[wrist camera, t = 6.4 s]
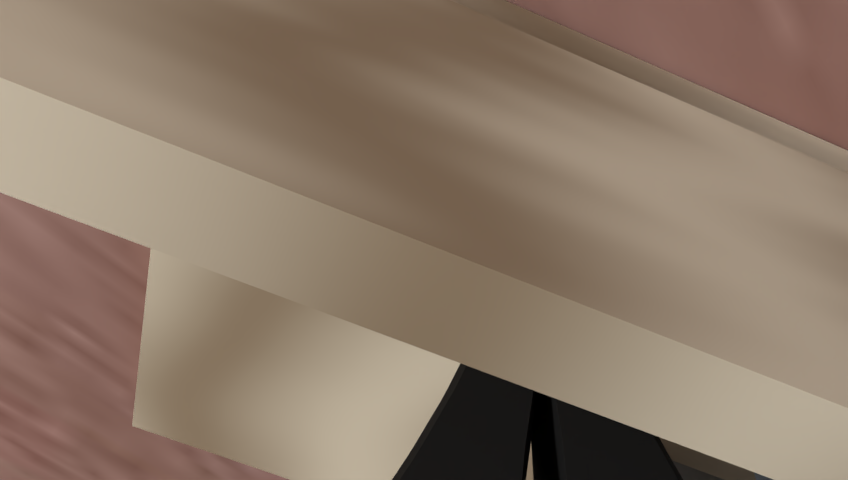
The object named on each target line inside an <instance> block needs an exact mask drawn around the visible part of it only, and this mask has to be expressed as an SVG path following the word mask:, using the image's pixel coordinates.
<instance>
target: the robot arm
mask: <svg viewBox="0 0 848 480" xmlns="http://www.w3.org/2000/svg"><path fill="white" fill-rule="evenodd" d="M530 446H531V447H532V465H533V480H683V478H682V477H681V475H680V473H679V471H678V470H677V468H676V466H675V465H674V463H673V461H672V459H671V458H670V456H669V454H668V452H667V451H666V449H665V447H664V445H663V443H662V442H661V440H660V438H659V437H658V436H655V435H652V434H650V433H647V432H644V431H642V430H639V429H636V428H633V427H631V426H628V425H625V424H623V423H620V422H617V421H615V420H612V419H609V418H606V417H604V416H601V415H598V414H596V413H593V412H590V411H588V410H585V409H582V408H580V407H577V406H574V405H571V404H569V403H566V402H563V401H561V400H558V399H555V398H553V397H550V396H547V395H545V394H542V393H539V392H536V391H534V390H531V389H528V388H526V387H523V386H520V385H518V384H515V383H512V382H510V381H507V380H504V379H501V378H499V377H496V376H493V375H491V374H488V373H485V372H483V371H480V370H477V369H475V368H472V367H469V366H466V365H464V364H461V363H460V365H459V367H458V369H457V371H456V373H455V375H454V377H453V379H452V381H451V383H450V385H449V387H448V389H447V391H446V392H445V394H444V396H443V398H442V400H441V401H440V403H439V405H438V406H437V408H436V410H435V411H434V413H433V415H432V417H431V418H430V420H429V422H428V423H427V425H426V427H425V428H424V430H423V432H422V433H421V435H420V437H419V438H418V440H417V442H416V443H415V445H414V447H413V448H412V450H411V451H410V453H409V454H408V456H407V458H406V459H405V461H404V462H403V464H402V465H401V467H400V468H399V470H398V471H397V473H396V474H395V476H394V477H393V479H392V480H526V476H527V468H528V461H529V453H530Z"/></svg>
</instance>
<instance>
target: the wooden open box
mask: <svg viewBox="0 0 848 480" xmlns="http://www.w3.org/2000/svg"><path fill="white" fill-rule="evenodd" d="M0 192H1V193H3V194H6V195H9V196H11V197H14V198H17V199H19V200H22V201H25V202H27V203H30V204H33V205H36V206H38V207H41V208H44V209H46V210H49V211H52V212H54V213H57V214H60V215H62V216H65V217H68V218H71V219H73V220H76V221H79V222H81V223H84V224H87V225H89V226H92V227H95V228H97V229H100V230H103V231H106V232H108V233H111V234H114V235H116V236H119V237H122V238H124V239H127V240H130V241H132V242H135V243H138V244H141V245H143V246H146V247H149V248H151V252H150V262H149V271H148V281H147V290H146V300H145V309H144V319H143V328H142V338H141V347H140V357H139V366H138V375H137V385H136V394H135V404H134V413H133V423H132V426H134V427H137V428H140V429H143V430H146V431H149V432H152V433H155V434H158V435H160V436H163V437H166V438H169V439H172V440H175V441H178V442H181V443H184V444H187V445H190V446H193V447H196V448H199V449H202V450H205V451H207V452H210V453H213V454H216V455H219V456H222V457H225V458H228V459H231V460H234V461H237V462H240V463H243V464H246V465H249V466H252V467H254V468H257V469H260V470H263V471H266V472H269V473H272V474H275V475H278V476H281V477H284V478H287V479H290V480H392V479H393V477H394V476H395V474H396V473H397V471H398V470H399V468H400V467H401V465H402V464H403V462H404V461H405V459H406V458H407V456H408V454H409V453H410V451H411V450H412V448H413V447H414V445H415V443H416V442H417V440H418V438H419V437H420V435H421V433H422V432H423V430H424V428H425V427H426V425H427V423H428V422H429V420H430V418H431V417H432V415H433V413H434V411H435V410H436V408H437V406H438V405H439V403H440V401H441V400H442V398H443V396H444V394H445V392H446V391H447V389H448V387H449V385H450V383H451V381H452V379H453V377H454V375H455V373H456V371H457V369H458V367H459V365H460V363H461V364H464V365H466V366H469V367H472V368H475V369H477V370H480V371H483V372H485V373H488V374H491V375H493V376H496V377H499V378H501V379H504V380H507V381H510V382H512V383H515V384H518V385H520V386H523V387H526V388H528V389H531V390H534V391H536V392H539V393H542V394H545V395H547V396H550V397H553V398H555V399H558V400H561V401H563V402H566V403H569V404H571V405H574V406H577V407H580V408H582V409H585V410H588V411H590V412H593V413H596V414H598V415H601V416H604V417H606V418H609V419H612V420H615V421H617V422H620V423H623V424H625V425H628V426H631V427H633V428H636V429H639V430H642V431H644V432H647V433H650V434H652V435H655V436H658V437H659V438H660V440H661V442H662V443H663V445H664V447H665V449H666V451H667V452H668V454H669V456H670V458H671V459H672V461H673V463H674V465H675V466H676V468H677V470H678V471H679V473H680V475H681V477H682V478H683V480H756V478H755V474H754V472H755V473H757V474H760V475H763V476H765V477H768V478H771V479H773V480H848V151H847V150H845V149H843V148H840V147H838V146H836V145H833V144H831V143H829V142H827V141H824V140H822V139H820V138H817V137H815V136H813V135H811V134H808V133H806V132H804V131H802V130H799V129H797V128H795V127H792V126H790V125H788V124H786V123H783V122H781V121H779V120H776V119H774V118H772V117H770V116H767V115H765V114H763V113H761V112H758V111H756V110H754V109H751V108H749V107H747V106H745V105H742V104H740V103H738V102H735V101H733V100H731V99H729V98H726V97H724V96H722V95H720V94H717V93H715V92H713V91H710V90H708V89H706V88H704V87H701V86H699V85H697V84H694V83H692V82H690V81H688V80H685V79H683V78H681V77H679V76H676V75H674V74H672V73H669V72H667V71H665V70H663V69H660V68H658V67H656V66H654V65H651V64H649V63H647V62H644V61H642V60H640V59H638V58H635V57H633V56H631V55H628V54H626V53H624V52H622V51H619V50H617V49H615V48H613V47H610V46H608V45H606V44H603V43H601V42H599V41H597V40H594V39H592V38H590V37H587V36H585V35H583V34H581V33H578V32H576V31H574V30H572V29H569V28H567V27H565V26H562V25H560V24H558V23H556V22H553V21H551V20H549V19H546V18H544V17H542V16H540V15H537V14H535V13H533V12H531V11H528V10H526V9H524V8H521V7H519V6H517V5H515V4H512V3H510V2H508V1H505V0H0ZM526 480H533V465H532V447H531V446H530V453H529V461H528V468H527V476H526Z"/></svg>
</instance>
